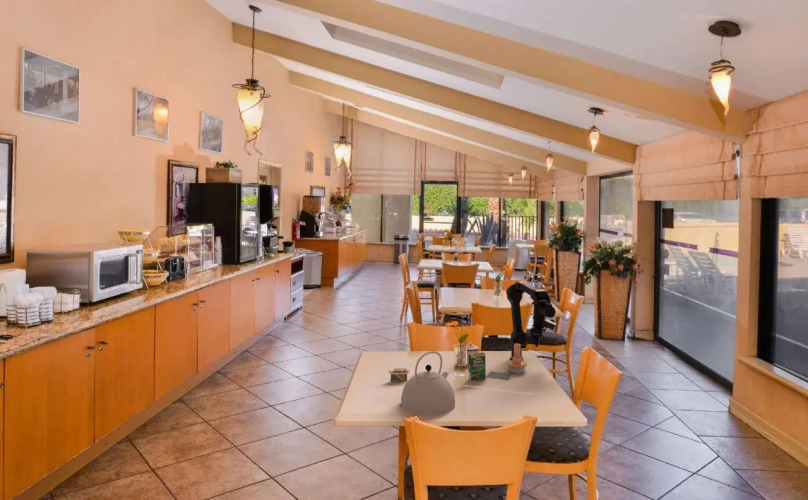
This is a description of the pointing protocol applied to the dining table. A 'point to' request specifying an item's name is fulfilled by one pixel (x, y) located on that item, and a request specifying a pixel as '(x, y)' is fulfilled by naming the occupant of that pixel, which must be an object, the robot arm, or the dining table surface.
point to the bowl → (517, 369)
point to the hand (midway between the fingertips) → (538, 344)
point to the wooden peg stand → (517, 358)
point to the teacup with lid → (471, 350)
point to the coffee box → (477, 366)
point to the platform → (399, 374)
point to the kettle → (428, 391)
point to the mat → (499, 375)
